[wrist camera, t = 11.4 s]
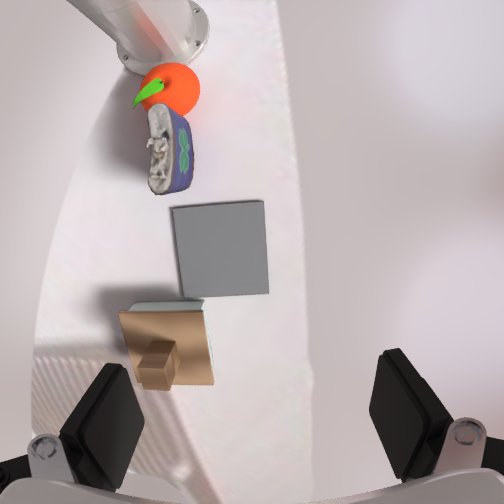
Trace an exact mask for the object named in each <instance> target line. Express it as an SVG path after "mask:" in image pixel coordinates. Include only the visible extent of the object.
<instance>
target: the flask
mask: <svg viewBox="0 0 504 504" xmlns="http://www.w3.org/2000/svg"><path fill="white" fill-rule="evenodd" d="M147 119H148V124H149V129H150V138H149V139H148V141H147V144H146V147H147V148H148V147H149V145H151V165H150V171H149V175H148V185H149V187H150V189H151V191H152V192H153V193H155V195H165V194H170V193H175V192H180V191H183V190H186V189H187V188H189V187H190V185H191V181H192V179H193V171H194V152H193V143H192V135H191V129H190V126H189V123H188V121H187V120H186V119H185V118H184V117H182V116H180V115H179V114H178V113H177V112H175V111H174V110H173V109H171V108H170V107H169V106H168V105H166V104H165V103H156V104H154V105H153V106H151V108H149V110H148V116H147Z"/></svg>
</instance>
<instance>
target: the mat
mask: <svg viewBox="0 0 504 504" xmlns="http://www.w3.org/2000/svg"><path fill="white" fill-rule="evenodd" d="M173 214H174V223H175V232H176V240H177V249H178V256H179V264H180V271H181V279H182V285H183V292H184V298H198V297H220V296H239V295H256V294H269V282H268V264H267V246H266V229H265V213H264V201H260V202H245V203H231V204H218V205H206V206H194V207H184V208H174V209H173Z"/></svg>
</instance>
